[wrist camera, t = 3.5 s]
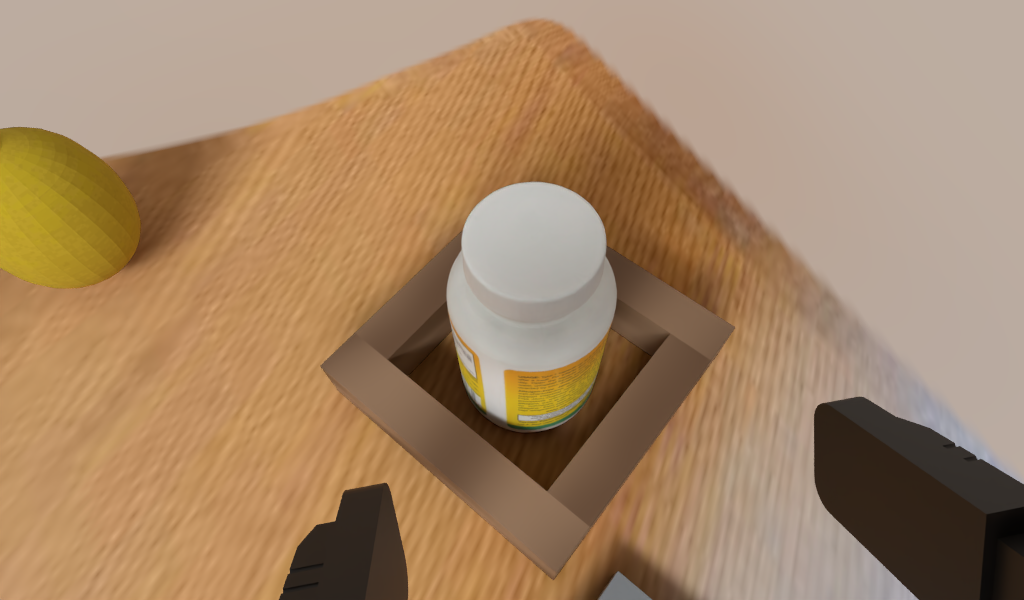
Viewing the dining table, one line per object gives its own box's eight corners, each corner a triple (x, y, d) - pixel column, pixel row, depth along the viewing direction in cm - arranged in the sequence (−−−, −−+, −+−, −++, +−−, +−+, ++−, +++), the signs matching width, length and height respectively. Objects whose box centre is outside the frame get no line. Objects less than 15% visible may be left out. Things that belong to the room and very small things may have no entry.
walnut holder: (338, 390, 25) (319, 365, 23) (511, 219, 29) (510, 184, 27) (553, 580, 21) (556, 572, 19) (717, 354, 25) (735, 327, 23)
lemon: (61, 226, 29) (-84, 95, 22) (180, 211, 29) (74, 76, 23) (35, 329, 26) (-140, 216, 19) (166, 310, 27) (40, 193, 20)
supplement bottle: (438, 397, 25) (394, 270, 16) (503, 295, 27) (494, 137, 18) (559, 461, 23) (578, 358, 15) (616, 348, 26) (661, 203, 17)
